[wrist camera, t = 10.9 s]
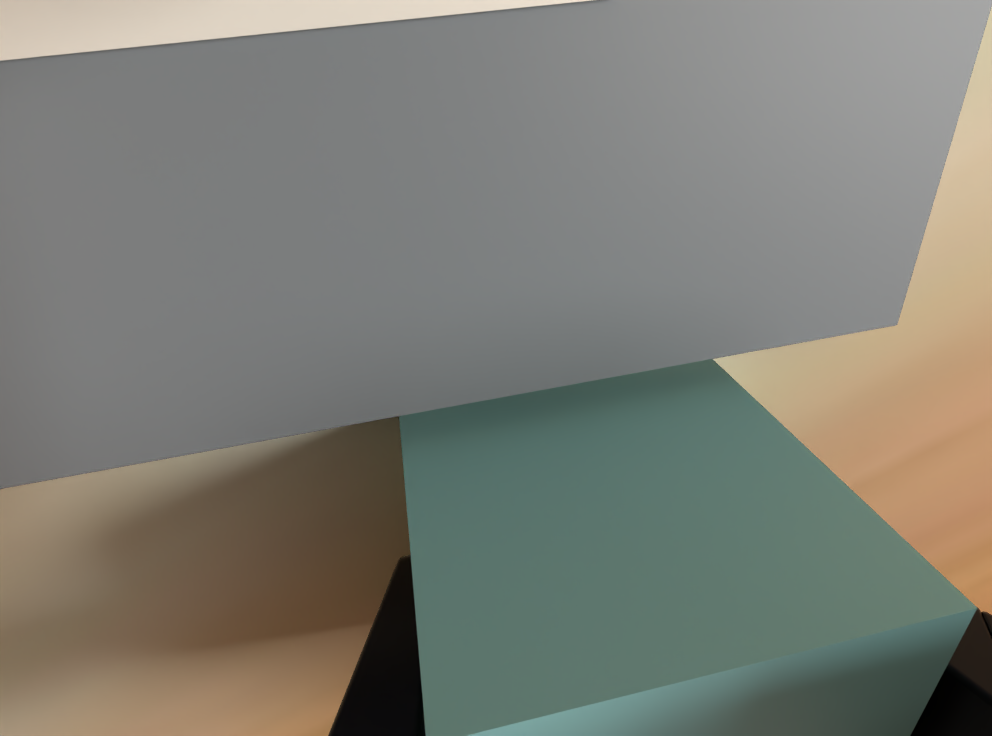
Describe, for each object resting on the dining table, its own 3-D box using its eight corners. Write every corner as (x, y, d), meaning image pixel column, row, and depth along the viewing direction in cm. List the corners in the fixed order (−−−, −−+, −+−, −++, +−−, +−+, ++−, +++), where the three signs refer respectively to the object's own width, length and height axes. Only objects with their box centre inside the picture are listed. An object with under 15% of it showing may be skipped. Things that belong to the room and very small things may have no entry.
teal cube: (441, 613, 11) (485, 956, 7) (398, 405, 9) (427, 745, 5) (679, 560, 12) (851, 847, 8) (703, 350, 9) (976, 607, 5)
